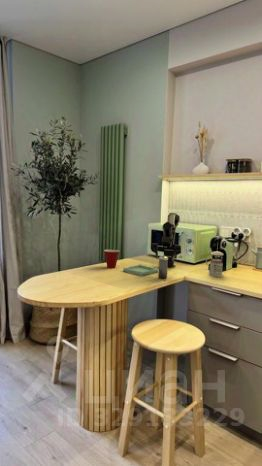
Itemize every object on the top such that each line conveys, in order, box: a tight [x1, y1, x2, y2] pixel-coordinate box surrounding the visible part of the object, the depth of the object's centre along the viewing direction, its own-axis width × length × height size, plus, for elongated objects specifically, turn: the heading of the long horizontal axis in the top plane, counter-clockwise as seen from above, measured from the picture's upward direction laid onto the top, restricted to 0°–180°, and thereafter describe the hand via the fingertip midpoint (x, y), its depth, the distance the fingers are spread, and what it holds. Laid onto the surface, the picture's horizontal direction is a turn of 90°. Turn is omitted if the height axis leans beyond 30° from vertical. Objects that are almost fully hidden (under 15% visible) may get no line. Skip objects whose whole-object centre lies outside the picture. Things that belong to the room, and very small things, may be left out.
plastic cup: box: [103, 249, 121, 269], centre depth 216 cm, size 11×11×12 cm
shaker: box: [157, 255, 169, 280], centre depth 193 cm, size 5×5×13 cm
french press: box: [205, 236, 224, 278], centre depth 205 cm, size 10×12×25 cm
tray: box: [122, 264, 159, 277], centre depth 208 cm, size 16×16×2 cm
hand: (164, 259), depth 196 cm, fingers open, 9 cm apart
